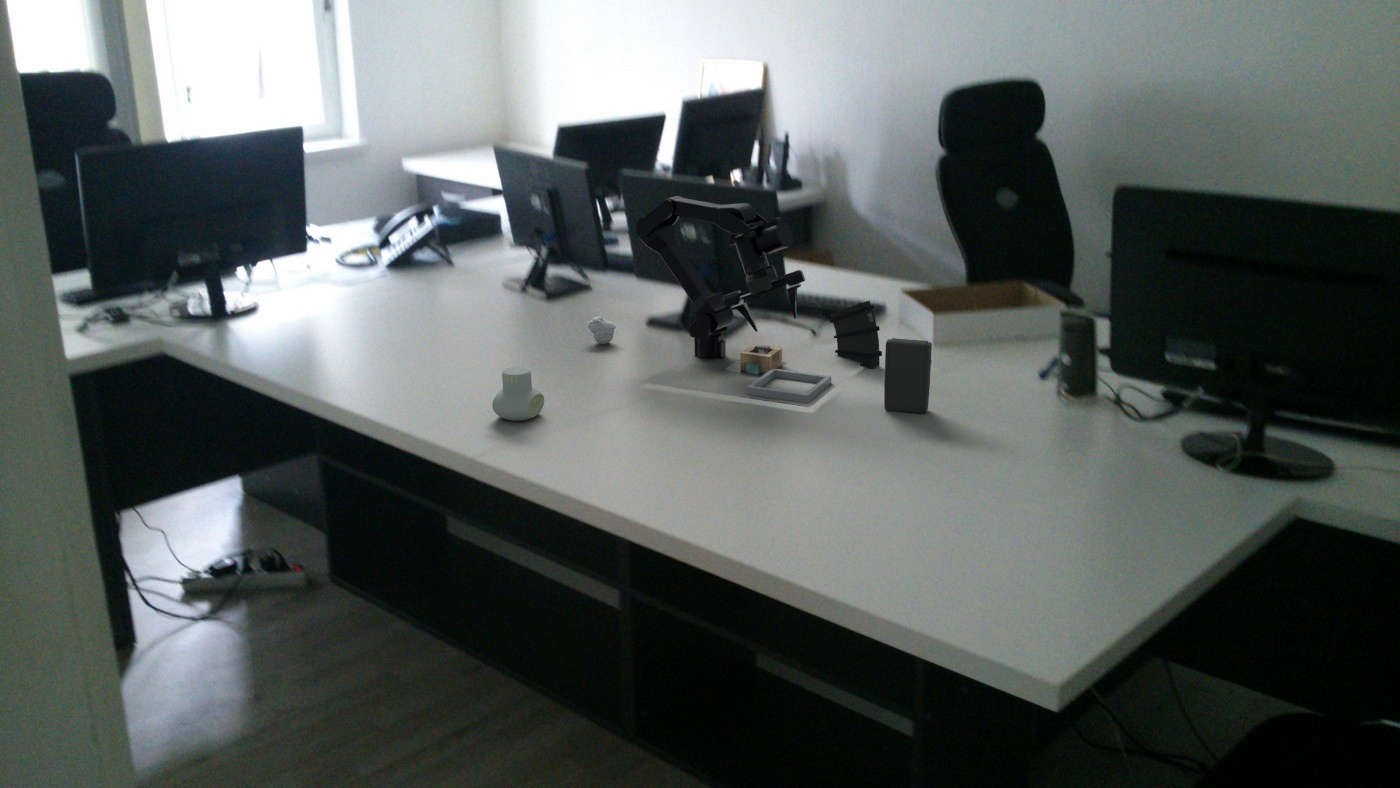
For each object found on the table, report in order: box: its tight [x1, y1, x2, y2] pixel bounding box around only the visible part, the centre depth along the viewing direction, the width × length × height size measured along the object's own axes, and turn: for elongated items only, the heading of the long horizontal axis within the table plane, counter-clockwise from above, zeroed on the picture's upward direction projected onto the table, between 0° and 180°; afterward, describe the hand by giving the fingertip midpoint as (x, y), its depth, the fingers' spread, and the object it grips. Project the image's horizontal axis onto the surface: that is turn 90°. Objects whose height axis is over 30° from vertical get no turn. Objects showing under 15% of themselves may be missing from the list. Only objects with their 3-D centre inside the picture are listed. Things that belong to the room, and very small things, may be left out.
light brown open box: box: [739, 344, 783, 376], centre depth 272 cm, size 7×9×4 cm
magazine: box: [829, 300, 883, 370], centre depth 278 cm, size 4×13×15 cm, turn 41°
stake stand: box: [723, 344, 787, 377], centre depth 274 cm, size 11×11×6 cm
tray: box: [746, 368, 832, 407], centre depth 259 cm, size 14×14×2 cm
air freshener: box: [492, 366, 545, 422], centre depth 247 cm, size 11×8×10 cm
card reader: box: [883, 337, 933, 414], centre depth 246 cm, size 9×4×15 cm, turn 71°
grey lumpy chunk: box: [587, 316, 617, 345], centre depth 296 cm, size 6×7×7 cm
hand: (776, 325), depth 269 cm, fingers open, 9 cm apart
